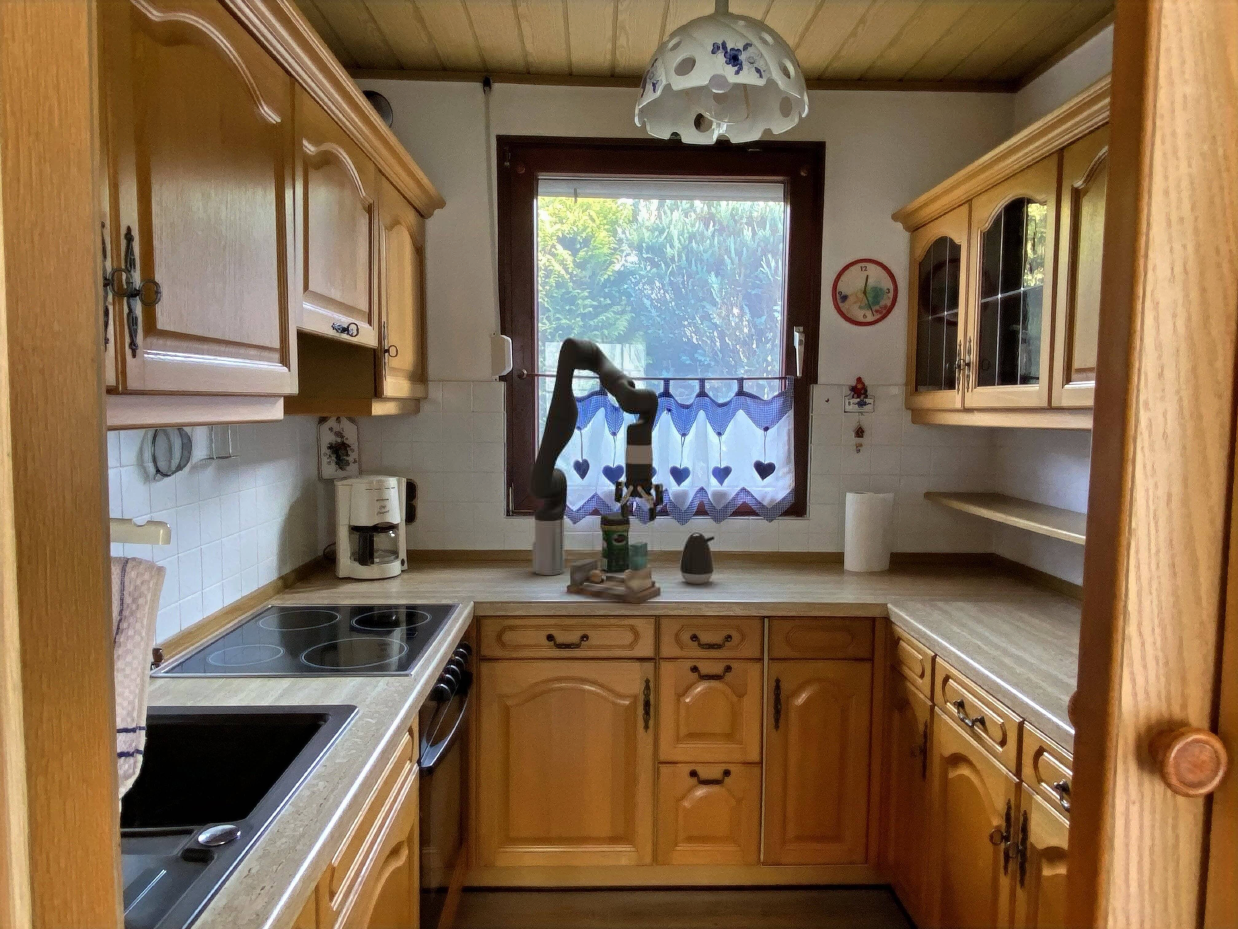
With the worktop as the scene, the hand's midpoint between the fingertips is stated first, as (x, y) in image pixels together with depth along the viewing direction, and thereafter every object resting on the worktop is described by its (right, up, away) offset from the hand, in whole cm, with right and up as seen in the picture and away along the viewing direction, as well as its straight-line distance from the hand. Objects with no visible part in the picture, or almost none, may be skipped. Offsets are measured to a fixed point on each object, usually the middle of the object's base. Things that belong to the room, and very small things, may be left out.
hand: (638, 519), depth 214 cm
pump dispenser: (+18, -21, +19) cm, 33 cm away
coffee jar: (-7, -19, +36) cm, 41 cm away
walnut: (-12, -19, +9) cm, 25 cm away
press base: (-7, -22, +6) cm, 24 cm away
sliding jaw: (0, -20, +2) cm, 20 cm away
